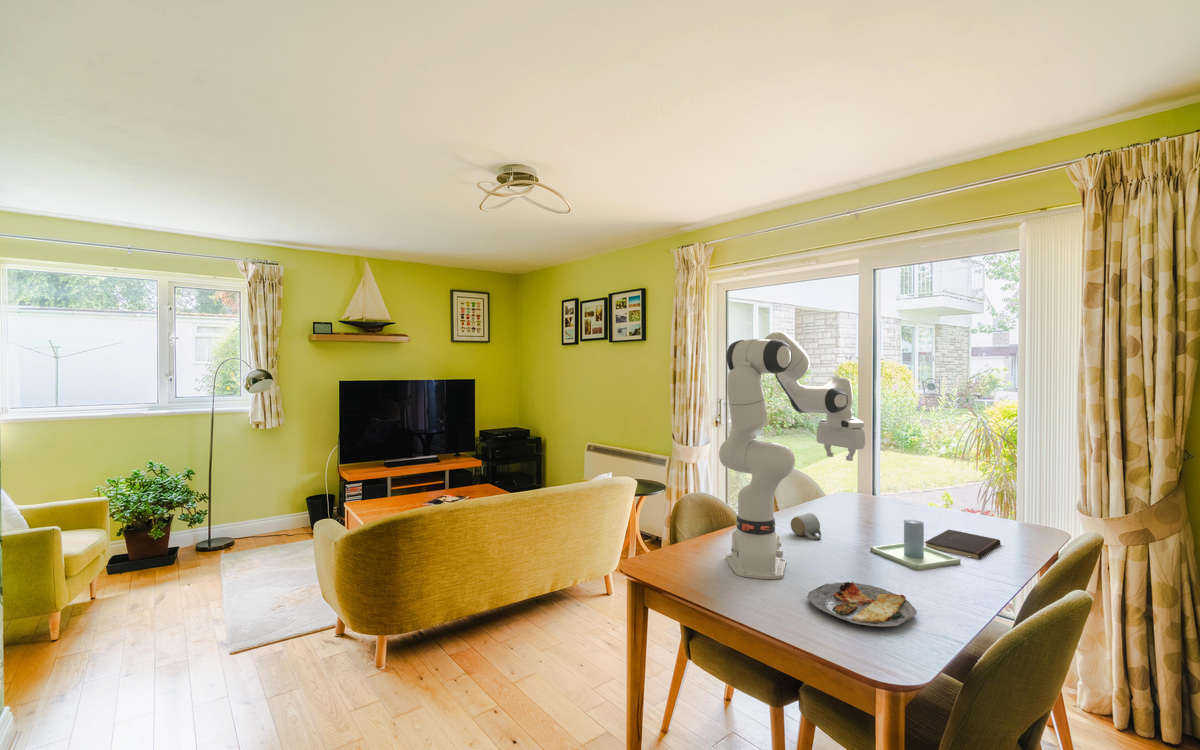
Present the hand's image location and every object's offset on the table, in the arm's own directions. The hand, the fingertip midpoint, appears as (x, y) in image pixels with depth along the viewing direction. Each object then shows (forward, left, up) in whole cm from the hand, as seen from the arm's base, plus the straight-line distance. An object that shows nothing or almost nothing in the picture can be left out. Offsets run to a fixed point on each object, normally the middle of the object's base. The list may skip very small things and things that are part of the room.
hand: (839, 458), depth 195 cm
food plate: (-62, +8, -30) cm, 69 cm away
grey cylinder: (-18, -19, -28) cm, 39 cm away
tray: (-18, -19, -29) cm, 39 cm away
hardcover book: (-2, -40, -30) cm, 50 cm away
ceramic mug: (-1, +11, -29) cm, 31 cm away
